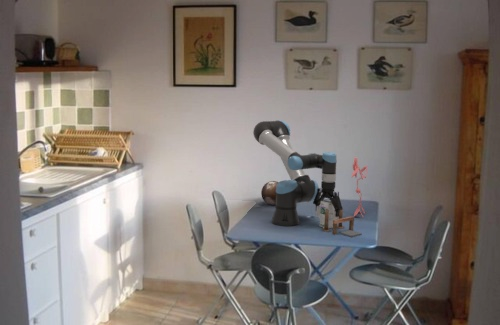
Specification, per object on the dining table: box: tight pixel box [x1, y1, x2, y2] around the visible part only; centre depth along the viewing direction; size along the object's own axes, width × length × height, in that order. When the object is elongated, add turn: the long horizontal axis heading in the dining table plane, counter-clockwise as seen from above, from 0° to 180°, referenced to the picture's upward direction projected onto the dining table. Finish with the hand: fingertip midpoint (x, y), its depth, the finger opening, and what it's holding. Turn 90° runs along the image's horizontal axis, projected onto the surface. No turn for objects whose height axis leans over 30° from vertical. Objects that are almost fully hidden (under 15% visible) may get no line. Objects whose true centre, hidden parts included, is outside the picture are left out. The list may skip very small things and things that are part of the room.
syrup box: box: [319, 199, 335, 229], centre depth 326 cm, size 6×6×14 cm
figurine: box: [344, 156, 368, 218], centre depth 354 cm, size 15×26×35 cm, turn 163°
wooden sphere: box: [261, 180, 279, 206], centre depth 377 cm, size 15×15×15 cm
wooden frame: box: [321, 207, 355, 235], centre depth 320 cm, size 10×15×11 cm, turn 129°
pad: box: [339, 229, 362, 238], centre depth 313 cm, size 8×8×1 cm
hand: (326, 219), depth 326 cm, fingers open, 12 cm apart
